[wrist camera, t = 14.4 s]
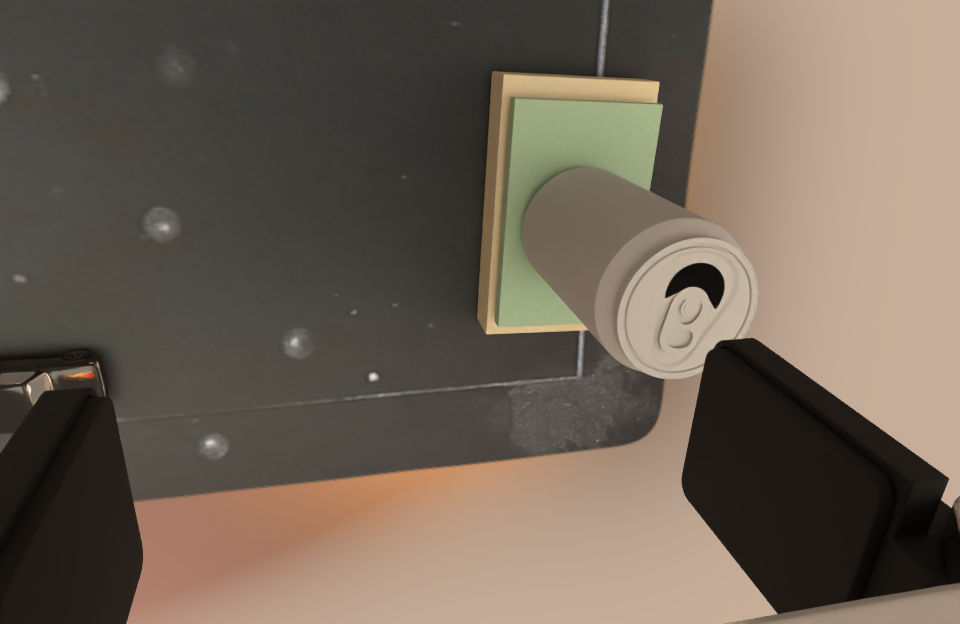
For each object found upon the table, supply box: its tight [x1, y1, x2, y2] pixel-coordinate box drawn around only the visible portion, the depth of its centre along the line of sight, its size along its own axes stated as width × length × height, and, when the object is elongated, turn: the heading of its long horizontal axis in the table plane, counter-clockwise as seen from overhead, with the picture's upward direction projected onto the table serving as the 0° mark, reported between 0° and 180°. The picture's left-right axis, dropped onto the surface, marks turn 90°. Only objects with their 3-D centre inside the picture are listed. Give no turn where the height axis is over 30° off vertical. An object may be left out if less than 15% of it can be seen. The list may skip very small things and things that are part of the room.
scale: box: [477, 71, 660, 334], centre depth 37 cm, size 14×8×3 cm, turn 177°
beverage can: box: [522, 167, 758, 379], centre depth 30 cm, size 6×6×12 cm
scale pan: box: [495, 97, 663, 327], centre depth 35 cm, size 12×8×1 cm, turn 177°
